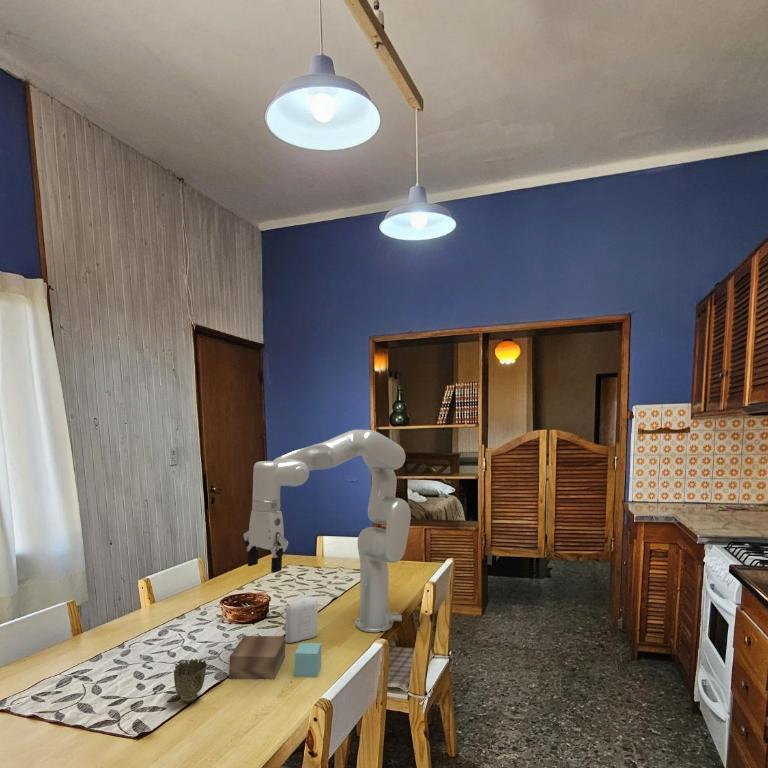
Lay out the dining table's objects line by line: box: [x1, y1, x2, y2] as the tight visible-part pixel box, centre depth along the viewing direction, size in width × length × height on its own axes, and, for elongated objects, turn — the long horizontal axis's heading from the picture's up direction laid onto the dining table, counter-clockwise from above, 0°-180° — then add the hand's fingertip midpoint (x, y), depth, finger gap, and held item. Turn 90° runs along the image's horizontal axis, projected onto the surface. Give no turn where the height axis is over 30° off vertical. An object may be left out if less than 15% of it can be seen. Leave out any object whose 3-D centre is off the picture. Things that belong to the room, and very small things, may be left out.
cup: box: [173, 658, 208, 704], centre depth 115 cm, size 8×7×8 cm
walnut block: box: [228, 635, 286, 681], centre depth 130 cm, size 12×12×6 cm
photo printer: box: [285, 595, 319, 644], centre depth 148 cm, size 10×4×12 cm, turn 123°
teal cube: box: [294, 642, 322, 678], centre depth 129 cm, size 6×6×6 cm
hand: (264, 568), depth 132 cm, fingers open, 9 cm apart
